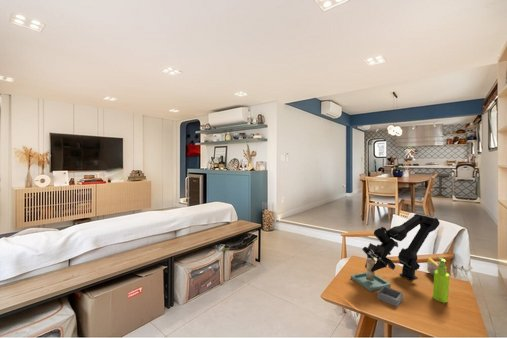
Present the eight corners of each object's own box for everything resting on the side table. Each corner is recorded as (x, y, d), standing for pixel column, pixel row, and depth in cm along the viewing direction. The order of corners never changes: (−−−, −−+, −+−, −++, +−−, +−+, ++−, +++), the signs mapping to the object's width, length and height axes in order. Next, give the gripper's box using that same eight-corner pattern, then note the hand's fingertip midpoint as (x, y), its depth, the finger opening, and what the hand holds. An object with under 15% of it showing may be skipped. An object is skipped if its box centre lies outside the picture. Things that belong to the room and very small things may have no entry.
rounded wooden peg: (372, 277, 133) (373, 258, 132) (375, 281, 129) (376, 261, 128) (365, 277, 133) (365, 258, 132) (367, 281, 129) (368, 261, 128)
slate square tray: (383, 293, 122) (383, 285, 122) (402, 300, 116) (403, 292, 116) (377, 300, 116) (377, 292, 116) (397, 308, 110) (397, 300, 110)
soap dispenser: (443, 295, 120) (446, 257, 119) (450, 303, 114) (452, 263, 113) (430, 293, 122) (432, 255, 121) (435, 301, 116) (438, 261, 114)
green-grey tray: (369, 274, 140) (369, 271, 140) (390, 287, 127) (390, 283, 127) (350, 279, 135) (350, 275, 135) (370, 292, 122) (370, 288, 122)
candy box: (426, 270, 146) (427, 257, 145) (430, 271, 146) (431, 257, 145) (441, 285, 130) (442, 270, 130) (445, 285, 130) (446, 270, 129)
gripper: (365, 232, 139) (348, 253, 137) (392, 245, 122) (373, 268, 119) (375, 244, 142) (359, 265, 140) (403, 258, 124) (385, 281, 122)
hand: (368, 269), depth 130 cm, fingers closed on rounded wooden peg, 4 cm apart
